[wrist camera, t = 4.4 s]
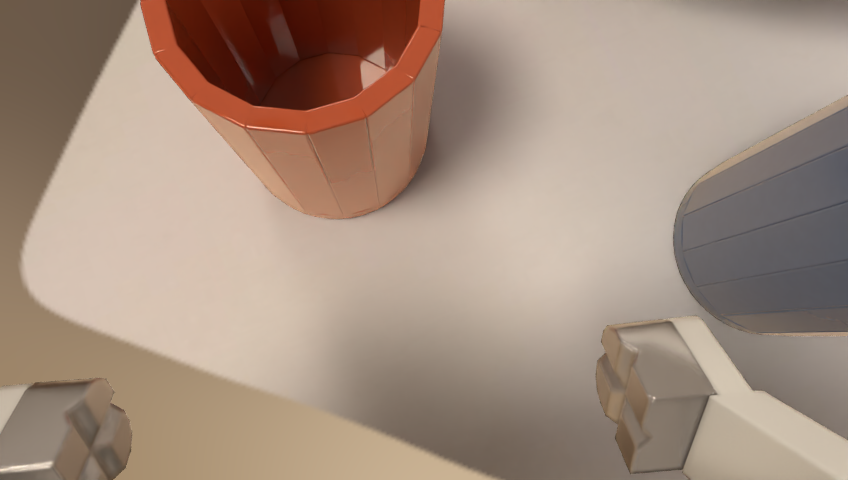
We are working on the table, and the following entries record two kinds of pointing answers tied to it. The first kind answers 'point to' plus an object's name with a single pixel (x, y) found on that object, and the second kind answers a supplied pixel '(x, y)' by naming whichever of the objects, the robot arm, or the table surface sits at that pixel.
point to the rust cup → (309, 90)
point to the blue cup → (773, 232)
